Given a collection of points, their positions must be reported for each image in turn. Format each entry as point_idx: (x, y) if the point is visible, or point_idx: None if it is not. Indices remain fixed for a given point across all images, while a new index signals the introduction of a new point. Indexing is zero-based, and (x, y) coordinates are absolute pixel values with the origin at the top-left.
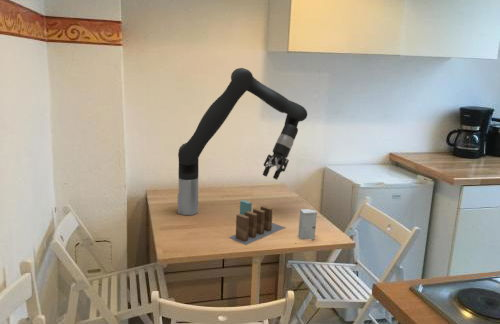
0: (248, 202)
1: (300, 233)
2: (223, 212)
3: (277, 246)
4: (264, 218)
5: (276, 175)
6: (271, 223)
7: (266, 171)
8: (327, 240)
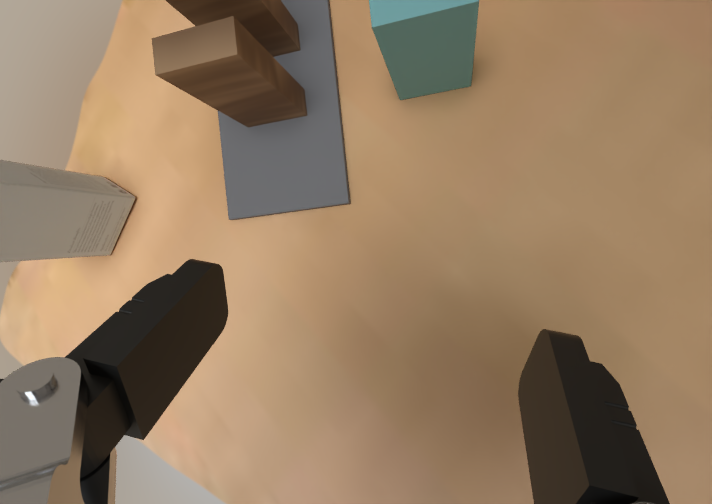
0: (393, 5)
1: (91, 179)
2: (702, 58)
3: (123, 39)
4: (184, 15)
5: (134, 295)
6: (224, 111)
7: (549, 431)
8: (48, 274)
